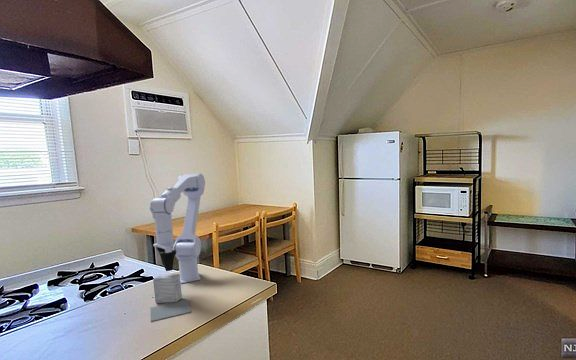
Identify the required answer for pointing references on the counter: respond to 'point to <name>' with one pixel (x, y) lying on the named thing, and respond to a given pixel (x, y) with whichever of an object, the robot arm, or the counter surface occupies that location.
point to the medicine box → (167, 288)
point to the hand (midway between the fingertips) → (167, 267)
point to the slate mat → (170, 310)
